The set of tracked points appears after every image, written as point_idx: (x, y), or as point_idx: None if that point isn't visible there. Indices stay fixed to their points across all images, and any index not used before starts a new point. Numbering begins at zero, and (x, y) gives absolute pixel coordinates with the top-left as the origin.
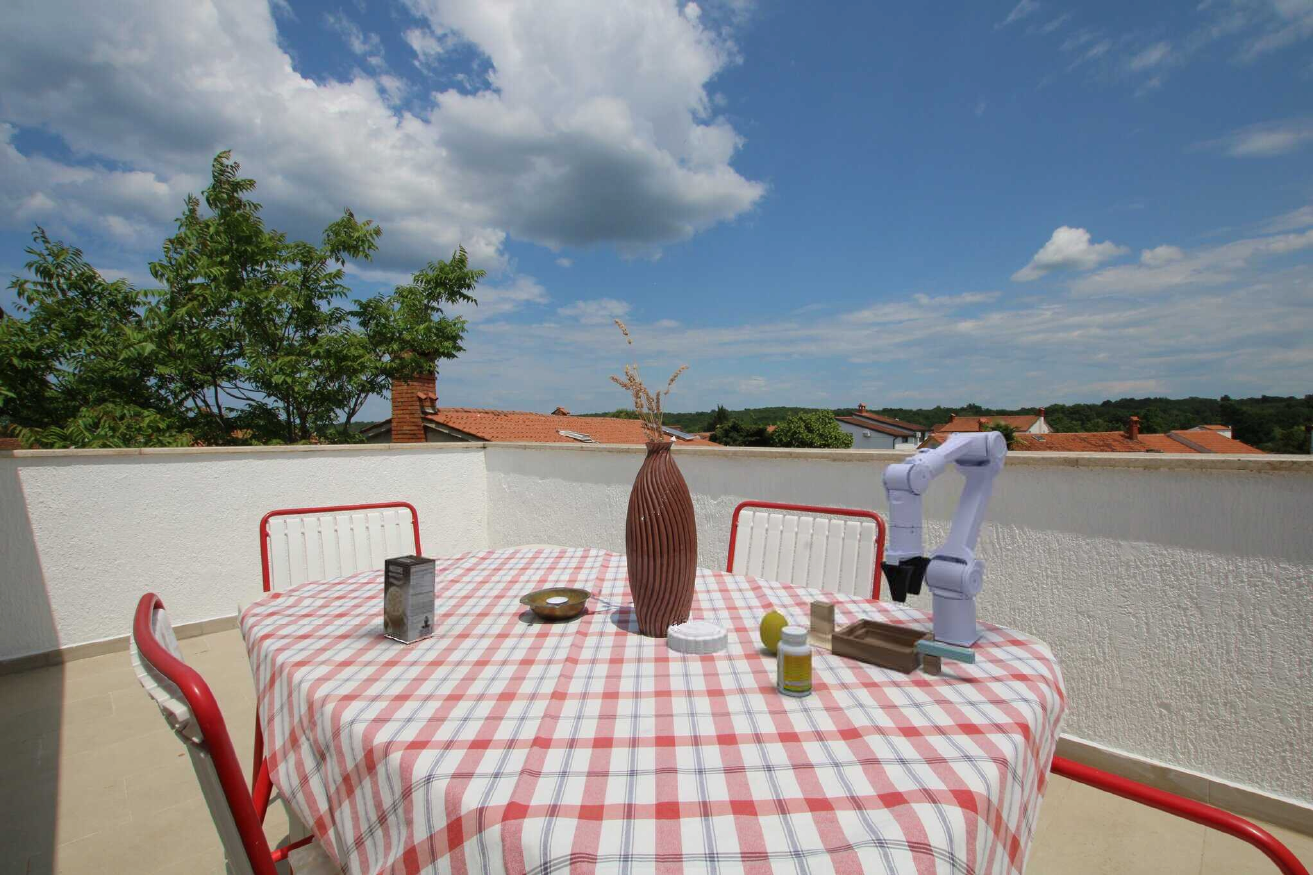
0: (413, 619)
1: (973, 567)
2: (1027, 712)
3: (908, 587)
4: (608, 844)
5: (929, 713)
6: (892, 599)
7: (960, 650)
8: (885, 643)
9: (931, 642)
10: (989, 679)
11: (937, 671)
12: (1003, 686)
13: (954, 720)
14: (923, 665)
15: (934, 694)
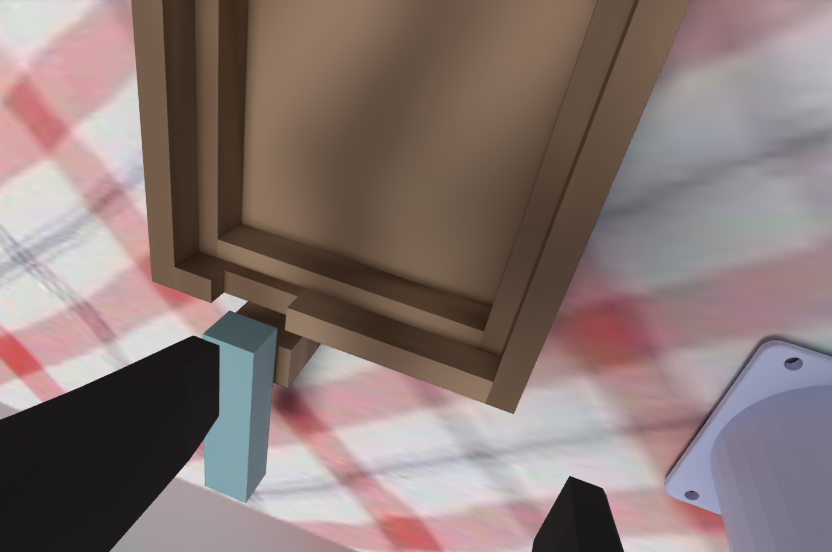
0: None
1: None
2: (179, 476)
3: (566, 544)
4: None
5: (8, 285)
6: (183, 340)
7: (220, 464)
8: (510, 131)
9: (241, 388)
10: (335, 459)
11: None
12: (304, 476)
13: (22, 333)
14: (246, 304)
15: (120, 306)
